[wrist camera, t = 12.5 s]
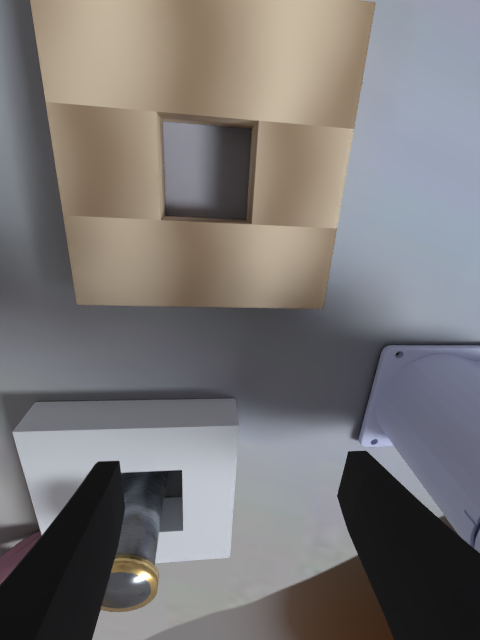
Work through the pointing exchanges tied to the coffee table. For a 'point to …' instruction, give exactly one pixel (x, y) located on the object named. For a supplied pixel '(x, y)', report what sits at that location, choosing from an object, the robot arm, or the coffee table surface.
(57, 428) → the dock
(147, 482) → the lock pin
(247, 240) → the pin mount
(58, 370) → the coffee table surface
